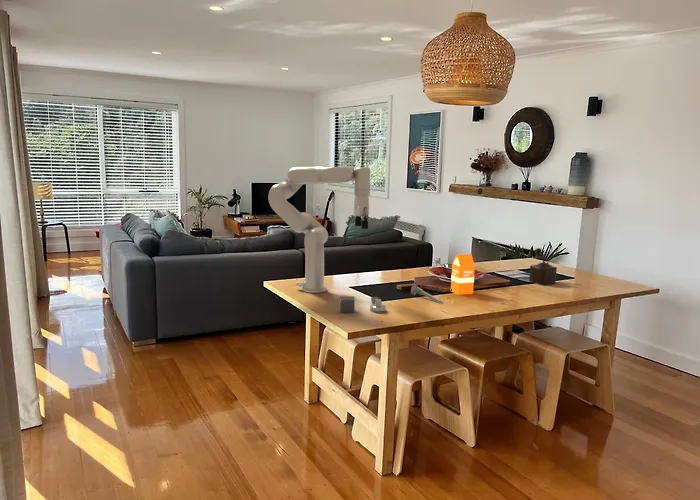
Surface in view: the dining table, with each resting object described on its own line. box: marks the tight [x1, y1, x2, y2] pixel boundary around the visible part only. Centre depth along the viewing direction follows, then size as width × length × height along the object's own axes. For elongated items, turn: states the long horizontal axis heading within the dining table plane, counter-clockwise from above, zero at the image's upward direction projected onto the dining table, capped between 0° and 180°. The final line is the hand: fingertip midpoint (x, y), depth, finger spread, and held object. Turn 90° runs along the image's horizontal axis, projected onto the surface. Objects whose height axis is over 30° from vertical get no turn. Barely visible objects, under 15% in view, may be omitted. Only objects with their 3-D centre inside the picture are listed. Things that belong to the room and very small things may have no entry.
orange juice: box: [450, 253, 476, 296], centre depth 277 cm, size 8×9×20 cm
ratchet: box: [369, 296, 387, 313], centre depth 250 cm, size 7×21×5 cm, turn 3°
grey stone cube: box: [339, 295, 355, 314], centre depth 241 cm, size 6×6×6 cm
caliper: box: [410, 283, 443, 304], centre depth 264 cm, size 20×1×6 cm, turn 39°
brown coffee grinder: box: [528, 247, 558, 286], centre depth 305 cm, size 16×11×18 cm
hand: (361, 227), depth 266 cm, fingers open, 9 cm apart
